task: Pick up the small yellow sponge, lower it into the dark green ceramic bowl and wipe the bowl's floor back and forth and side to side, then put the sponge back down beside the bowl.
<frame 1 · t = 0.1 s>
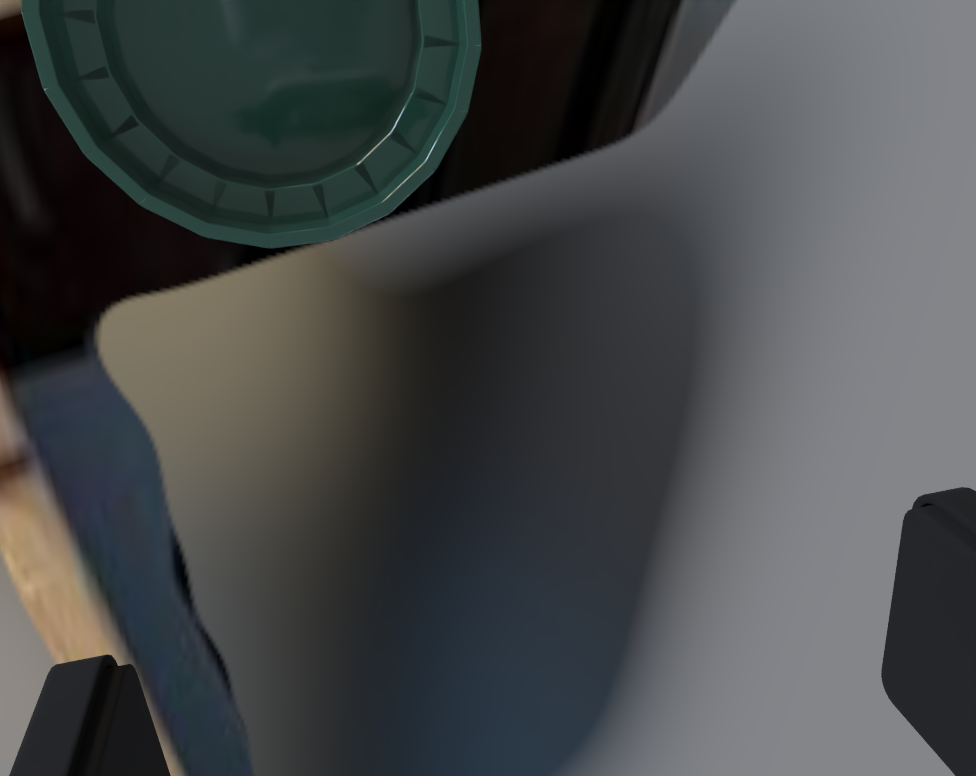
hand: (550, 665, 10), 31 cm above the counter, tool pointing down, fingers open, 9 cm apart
bowl: (267, 28, 35), on the counter
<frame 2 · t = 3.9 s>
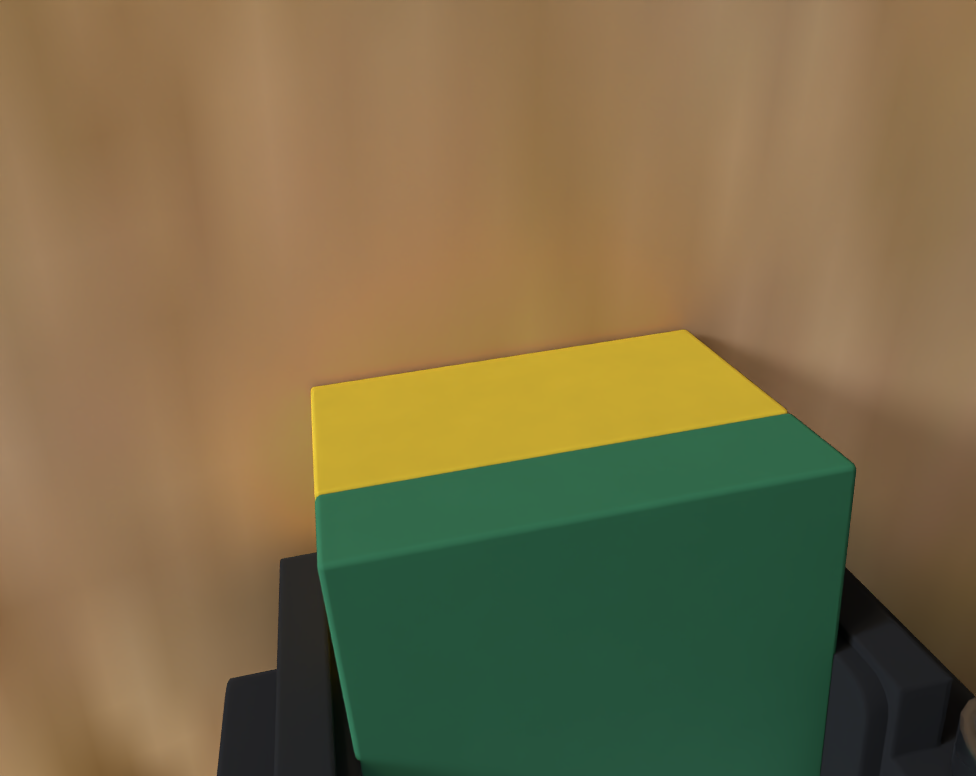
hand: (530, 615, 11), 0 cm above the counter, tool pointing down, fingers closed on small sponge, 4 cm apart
small sponge: (523, 597, 11), on the counter, touching gripper
when the fingers open (0 cm above the counter, at t = 16.9 s): small sponge stays where it is, on the counter.
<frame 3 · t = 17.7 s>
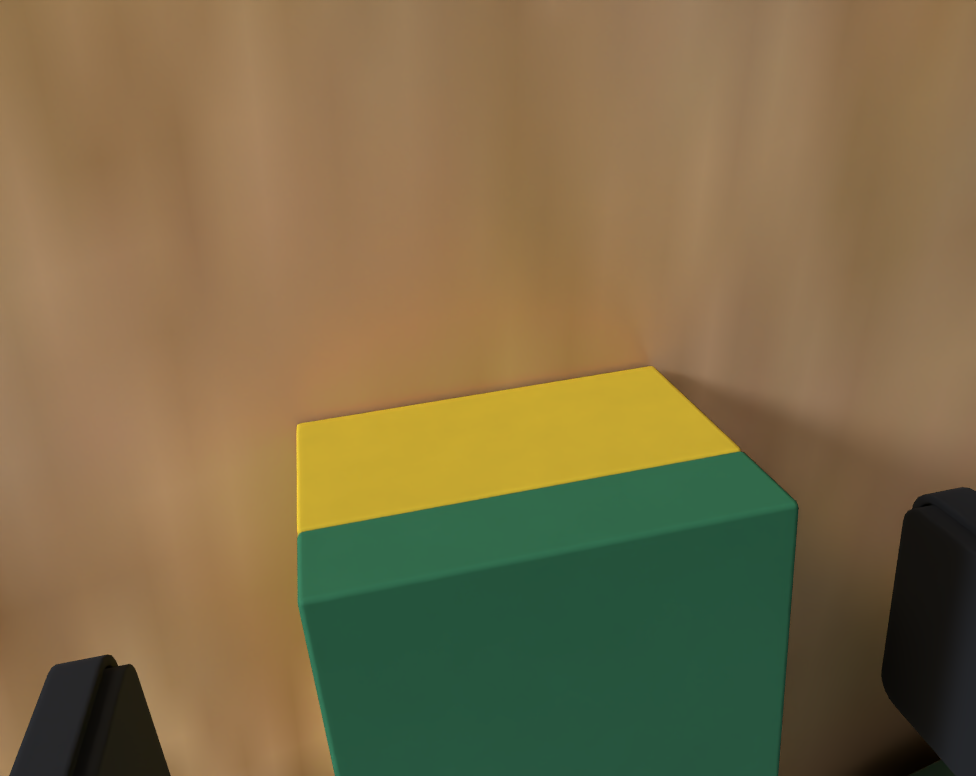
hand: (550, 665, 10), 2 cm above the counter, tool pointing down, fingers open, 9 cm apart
small sponge: (502, 619, 12), on the counter
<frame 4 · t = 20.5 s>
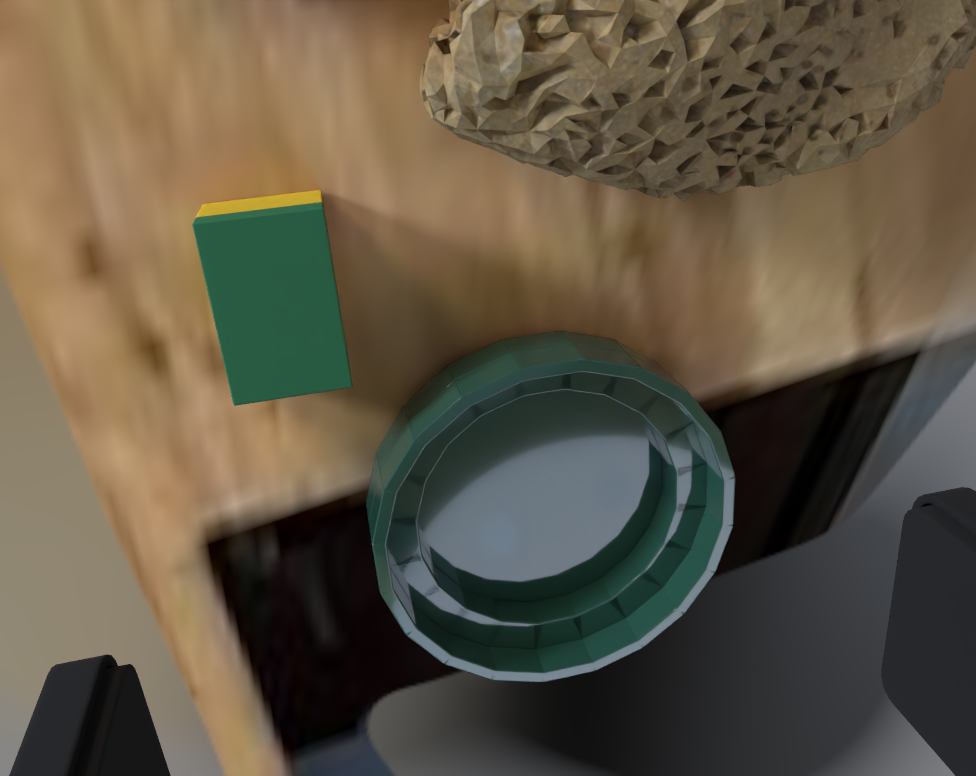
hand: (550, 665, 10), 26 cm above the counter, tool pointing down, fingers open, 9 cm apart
small sponge: (278, 283, 34), on the counter
bowl: (537, 488, 40), on the counter
sponge: (679, 20, 33), on the counter
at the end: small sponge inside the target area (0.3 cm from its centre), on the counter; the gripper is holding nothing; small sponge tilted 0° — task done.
